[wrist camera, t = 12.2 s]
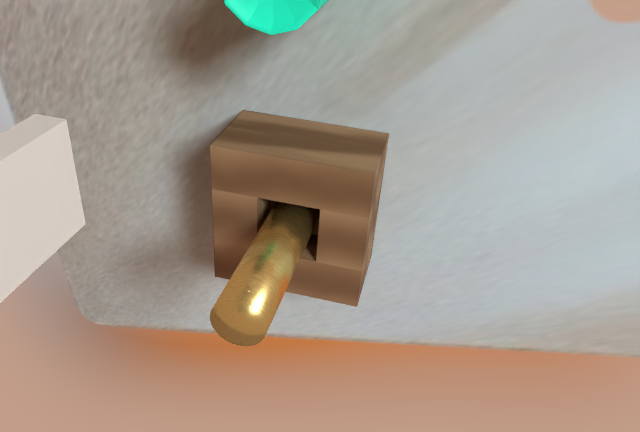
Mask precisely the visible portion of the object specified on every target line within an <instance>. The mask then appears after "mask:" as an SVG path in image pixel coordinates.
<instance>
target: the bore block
mask: <svg viewBox="0 0 640 432" xmlns="http://www.w3.org/2000/svg"><path fill="white" fill-rule="evenodd" d="M388 137H389V134H388V133H382V132H376V131H370V130H363V129H357V128H351V127H345V126H339V125H333V124H326V123H320V122H314V121H308V120H302V119H296V118H289V117H283V116H277V115H271V114H265V113H259V112H252V111H246V110H243V111H242V112H241V113H240V114H239V115H238V116H237V117H236V119H235V120H234V121H233V122H232V123H231V124H230V125H229V126H228V127H227V128H226V129H225V130H224V131H223V132H222V133H221V134H220V135H219V137H218V138H217V139H216V140H215V141H214V142H213V143H212V144H211V145H210V161H211V187H212V212H213V237H214V262H215V277H220V278H225V279H229V280H230V278H231V277H232V275H233V273H234V272H235V270H236V268H237V267H238V265H239V263H240V262H241V260H242V258H243V257H244V255H245V253H246V252H247V250H248V248H249V246H250V245H251V243H252V241H253V240H254V238H255V236H256V235H257V233H258V231H259V230H260V228H261V226H262V225H263V223H264V221H265V220H266V218H267V216H268V215H269V213H270V211H271V210H272V208H273V206H274V205H275V203H276V201H278V202H284V203H289V204H294V205H300V206H305V207H310V208H316V209H320V216H319V219H318V221H317V223H316V225H315V227H314V230H313V232H312V234H311V236H310V238H309V241H308V243H307V245H306V247H305V249H304V252H303V254H302V256H301V258H300V260H299V263H298V265H297V267H296V269H295V271H294V274H293V276H292V278H291V280H290V282H289V285H288V287H287V289H286V292H290V293H295V294H300V295H305V296H309V297H314V298H319V299H323V300H328V301H333V302H337V303H342V304H347V305H351V306H356V307H357V305H358V301H359V298H360V294H361V291H362V287H363V283H364V280H365V276H366V273H367V269H368V266H369V262H370V259H371V254H372V247H373V240H374V233H375V226H376V219H377V213H378V206H379V199H380V192H381V185H382V178H383V171H384V164H385V158H386V151H387V144H388Z"/></svg>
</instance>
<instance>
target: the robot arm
mask: <svg viewBox="0 0 640 432" xmlns="http://www.w3.org/2000/svg"><path fill="white" fill-rule="evenodd" d="M84 225H85V219H84V213H83V208H82V203H81V197H80V192H79V186H78V181H77V176H76V170H75V165H74V159H73V154H72V148H71V143H70V138H69V132H68V127H67V121H66V119H61V118H55V117H49V116H44V115H38V114H34V115H32V116H31V117H29V118H27V119H25V120H24V121H22V122H20V123H18V124H17V125H15V126H13V127H11V128H10V129H8V130H6V131H5V132H3V133H1V134H0V303H1V302H2V301H3V300H4V299H5V298H6V297H7V296H8V295H9V294H10V293H11V292H13V291H14V290H15V289H16V288H17V287H18V286H19V285H20V284H21V283H22V282H23V281H24V280H26V279H27V278H28V277H29V276H30V275H31V274H32V273H33V272H34V271H35V270H36V269H37V268H39V267H40V266H41V265H42V264H43V263H44V262H45V261H46V260H47V259H48V258H49V257H50V256H52V255H53V254H54V253H55V252H56V251H57V250H58V249H59V248H60V247H61V246H62V245H63V244H65V243H66V242H67V241H68V240H69V239H70V238H71V237H72V236H73V235H74V234H75V233H76V232H78V231H79V230H80V229H81V228H82V227H83V226H84Z"/></svg>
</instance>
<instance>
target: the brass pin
mask: <svg viewBox="0 0 640 432" xmlns="http://www.w3.org/2000/svg"><path fill="white" fill-rule="evenodd" d="M319 216H320V209H316V208H310V207H305V206H300V205H294V204H289V203H284V202H278V201H276V203H275V205H274V206H273V208H272V210H271V211H270V213H269V215H268V216H267V218H266V220H265V221H264V223H263V225H262V226H261V228H260V230H259V231H258V233H257V235H256V236H255V238H254V240H253V241H252V243H251V245H250V246H249V248H248V250H247V252H246V253H245V255H244V257H243V258H242V260H241V262H240V263H239V265H238V267H237V268H236V270H235V272H234V273H233V275H232V277H231V278H230V280H229V282H228V283H227V285H226V287H225V288H224V290H223V292H222V293H221V295H220V297H219V298H218V300H217V302H216V303H215V305H214V307H213V308H212V310H211V313H210V321H211V324H212V326H213V328H214V330H215V331H216V332H217V333H218V334H219V335H220V336H221V337H222V338H224V339H225V340H227V341H228V342H231V343H233V344H236V345H240V346H252V345H255V344H258V343H259V342H261V341H262V340H263V339H264V337H265V335H266V333H267V331H268V328H269V326H270V324H271V322H272V320H273V317H274V315H275V313H276V311H277V309H278V306H279V304H280V302H281V300H282V298H283V295H284V293H285V291H286V289H287V287H288V285H289V282H290V280H291V278H292V276H293V274H294V271H295V269H296V267H297V265H298V263H299V260H300V258H301V256H302V254H303V252H304V249H305V247H306V245H307V243H308V241H309V238H310V236H311V234H312V232H313V230H314V227H315V225H316V223H317V221H318V219H319Z"/></svg>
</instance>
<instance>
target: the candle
mask: <svg viewBox="0 0 640 432" xmlns="http://www.w3.org/2000/svg"><path fill="white" fill-rule="evenodd" d="M327 1H328V0H224V2H225V5H226V6H227V7H228V8H229V9H230V10H231V11H232V12H233V13H234V14H235V15H236V16H237V17H238V18H239V19H240V20H241V21H242V22H243V23H244V24H245V25H246V26H249V27H252V28H254V29H257V30H259V31H262V32H265V33H267V34H270V35H273V34H278V33H283V32H288V31H293V30H297V29H298V28H299V27H300V26H302V25H303V24H304V23H305V22H306V21H307V20H308V19H309V18H310V17H311V16H312V15H313V14H314V13H315V12H316V11H317V10H319V9H320V8H321V7H322V6H323V5H324V4H325V3H326V2H327Z"/></svg>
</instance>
